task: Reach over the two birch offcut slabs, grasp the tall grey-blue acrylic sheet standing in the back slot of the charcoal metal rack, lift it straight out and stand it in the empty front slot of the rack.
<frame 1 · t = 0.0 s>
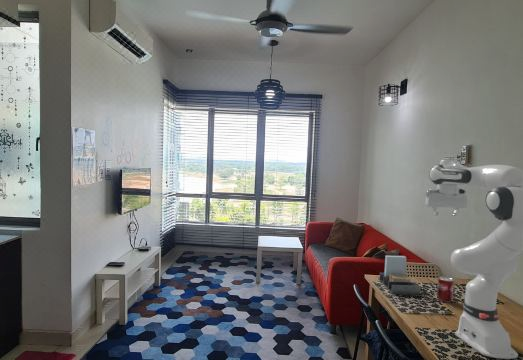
hand: (444, 215, 161), 48 cm above the table, fingers open, 8 cm apart
acrylic sheet: (394, 281, 191), point 1 cm above the table, touching rack
soda can: (444, 300, 170), on the table
offcut back: (397, 284, 186), point 1 cm above the table, touching rack
offcut front: (400, 287, 183), point 1 cm above the table, touching rack
rack: (397, 286, 186), on the table
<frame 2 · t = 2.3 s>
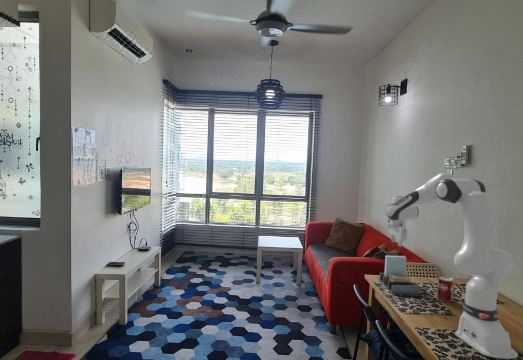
hand: (396, 244, 190), 25 cm above the table, fingers open, 8 cm apart
nothing on the table moved.
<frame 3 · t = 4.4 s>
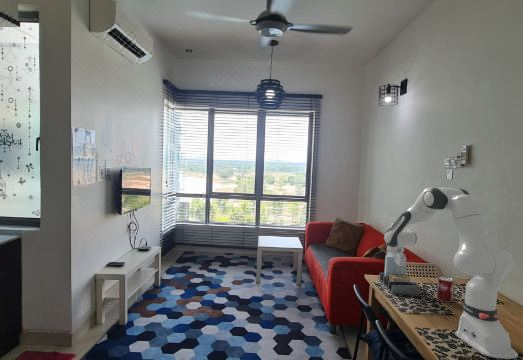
hand: (395, 268, 191), 9 cm above the table, fingers closed on acrylic sheet, 2 cm apart
acrylic sheet: (394, 281, 191), point 1 cm above the table, touching gripper, rack
everything else where it was.
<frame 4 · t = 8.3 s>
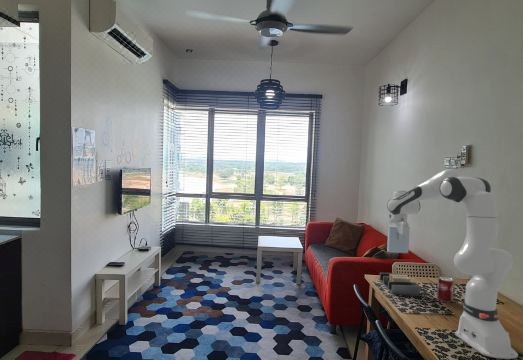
hand: (398, 239, 188), 28 cm above the table, fingers closed on acrylic sheet, 2 cm apart
acrylic sheet: (397, 252, 188), point 20 cm above the table, touching gripper
everything else where it was.
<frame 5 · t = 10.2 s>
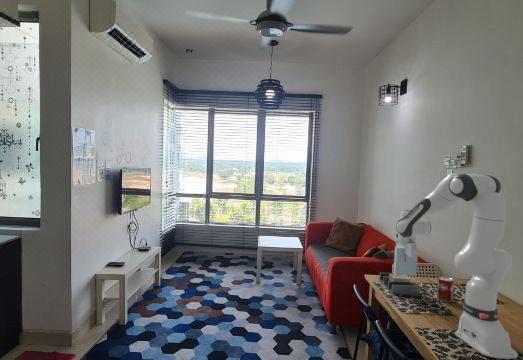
hand: (405, 261, 177), 19 cm above the table, fingers closed on acrylic sheet, 2 cm apart
acrylic sheet: (404, 274, 177), point 10 cm above the table, touching gripper
everything else where it was.
when the fingers open (11 cm above the table, at t = 12.1 s): acrylic sheet drops 1 cm, resting on rack.
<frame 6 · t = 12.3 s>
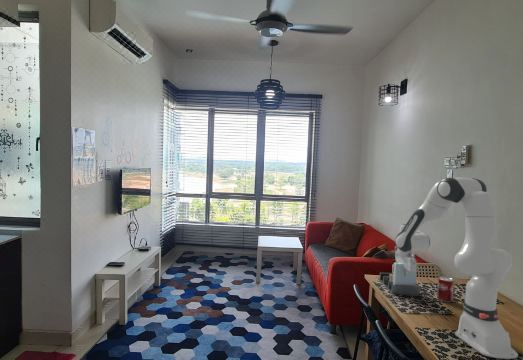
hand: (404, 274, 177), 11 cm above the table, fingers open, 4 cm apart
acrylic sheet: (403, 290, 178), point 1 cm above the table, touching rack
everything else where it was.
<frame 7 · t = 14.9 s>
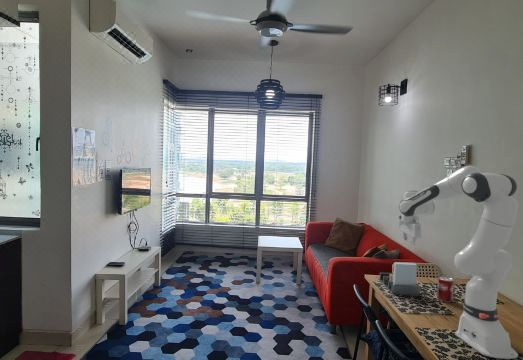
hand: (409, 242, 176), 30 cm above the table, fingers open, 8 cm apart
nothing on the table moved.
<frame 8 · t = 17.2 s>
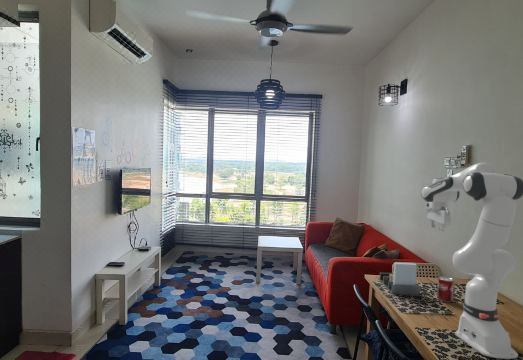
hand: (437, 229, 179), 37 cm above the table, fingers open, 8 cm apart
nothing on the table moved.
at the end: acrylic sheet inside the target area on the rack (0.1 cm from its centre), point 1.0 cm above the rack's base; acrylic sheet tilted 0°; the gripper is holding nothing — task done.
